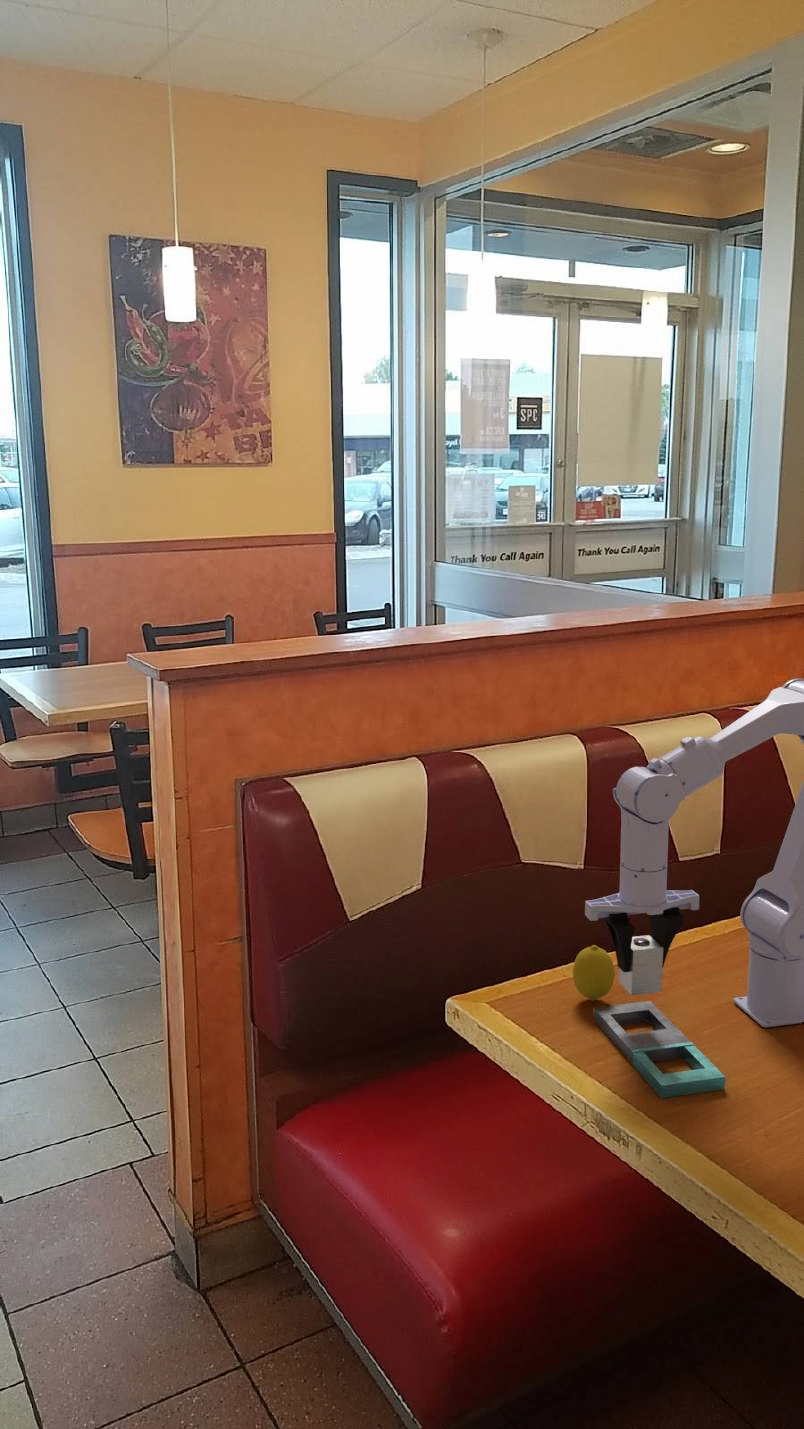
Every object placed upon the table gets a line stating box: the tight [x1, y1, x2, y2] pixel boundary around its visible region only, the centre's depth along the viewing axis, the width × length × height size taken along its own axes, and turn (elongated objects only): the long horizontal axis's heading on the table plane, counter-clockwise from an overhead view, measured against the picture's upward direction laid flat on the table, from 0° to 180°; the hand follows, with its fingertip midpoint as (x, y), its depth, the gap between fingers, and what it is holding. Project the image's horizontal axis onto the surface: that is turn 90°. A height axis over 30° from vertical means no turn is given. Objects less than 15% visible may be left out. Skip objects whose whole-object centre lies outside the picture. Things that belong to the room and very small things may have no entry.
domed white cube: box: [618, 934, 663, 996], centre depth 142 cm, size 4×4×6 cm
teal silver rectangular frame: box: [592, 1000, 726, 1099], centre depth 139 cm, size 8×20×2 cm, turn 13°
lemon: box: [572, 944, 615, 1002], centre depth 153 cm, size 6×6×8 cm
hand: (640, 966), depth 142 cm, fingers closed on domed white cube, 4 cm apart
